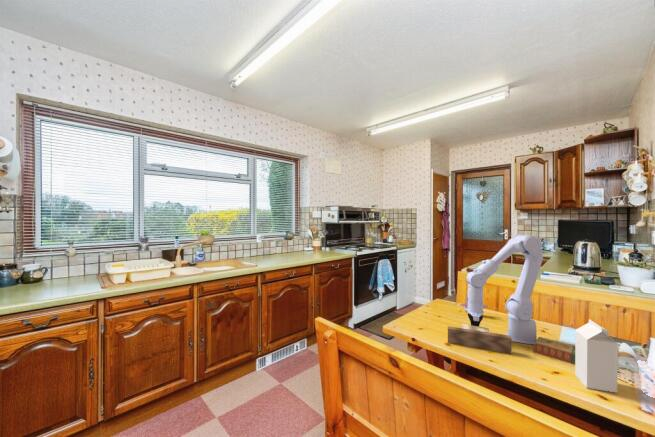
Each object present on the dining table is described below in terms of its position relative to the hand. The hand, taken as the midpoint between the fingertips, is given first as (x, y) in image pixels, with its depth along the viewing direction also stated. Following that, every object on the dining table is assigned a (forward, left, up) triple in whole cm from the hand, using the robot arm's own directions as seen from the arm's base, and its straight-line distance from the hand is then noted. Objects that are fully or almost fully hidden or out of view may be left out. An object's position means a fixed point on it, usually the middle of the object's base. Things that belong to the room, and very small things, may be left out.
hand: (474, 331), depth 116 cm
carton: (-28, +5, -3) cm, 29 cm away
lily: (-1, -28, -3) cm, 28 cm away
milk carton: (-32, +21, -3) cm, 38 cm away
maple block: (0, +4, -2) cm, 5 cm away
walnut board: (-1, +9, -2) cm, 10 cm away
